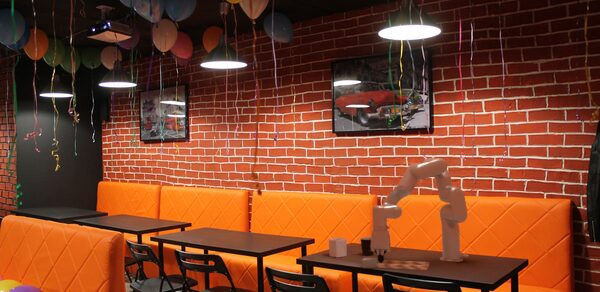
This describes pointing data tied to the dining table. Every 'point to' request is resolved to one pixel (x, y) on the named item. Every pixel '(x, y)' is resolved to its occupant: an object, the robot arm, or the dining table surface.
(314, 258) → the dining table surface
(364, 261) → the grayish brown block
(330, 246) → the white box
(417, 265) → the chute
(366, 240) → the coffee mug
